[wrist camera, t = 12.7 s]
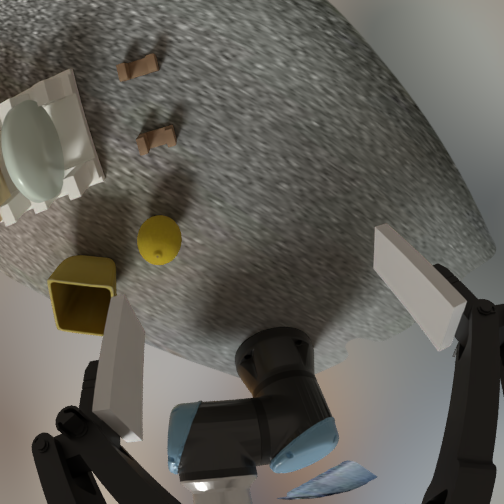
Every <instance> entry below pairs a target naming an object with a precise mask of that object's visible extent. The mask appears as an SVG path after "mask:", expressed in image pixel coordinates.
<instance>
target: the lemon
mask: <svg viewBox="0 0 504 504" xmlns="http://www.w3.org/2000/svg"><path fill="white" fill-rule="evenodd" d="M181 242H182V238H181V232H180V229H179V226H178V225H177V224H176V222H175V221H174V220H172V219H171V218H169V217H167V216H163V215H156V216H153V217H151V218H149V219H147V220H146V221H145V222H144V223H143V224H142V226H141V228H140V229H139V232H138V236H137V244H138V249H139V252H140V254H141V255H142V257H143V258H144V259H145V260H146V261H148V262H149V263H151V264H154V265H164V264H166V263H169V262H170V261H172V260H173V259H174V258H175V257H176V256H177V254H178V252H179V250H180V247H181Z"/></svg>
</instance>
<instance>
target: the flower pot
mask: <svg viewBox="0 0 504 504" xmlns="http://www.w3.org/2000/svg"><path fill="white" fill-rule="evenodd" d="M47 284H48V289H49V294H50V299H51V304H52V309H53V313H54V318H55V322H56V326H57V329H58V330H62V331H66V332H72V333H81V334H88V335H97V336H103V335H104V330H105V324H106V319H107V315H108V310H109V305H110V301H111V297H114V296H117V294H116V265H115V263H114V261H113V260H112V259H110V258H105V257H95V256H85V255H76V256H72V257H69V258H67V259H65V260H64V261H63V262H62V263H61V264H60V265H59V266H58V267H57V268H56V270H55V271H54V272H53V274H52V275H51V276H50V278H49V279H48V280H47Z"/></svg>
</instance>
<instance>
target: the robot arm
mask: <svg viewBox="0 0 504 504" xmlns="http://www.w3.org/2000/svg"><path fill="white" fill-rule="evenodd" d="M373 269H374V270H375V271H376V272H377V274H378V275H379V276H380V277H381V278H382V280H383V281H384V282H385V283H386V285H387V286H388V287H389V288H390V289H391V291H392V292H393V293H394V294H395V296H396V297H397V298H398V299H399V301H400V302H401V303H402V304H403V306H404V307H405V308H406V310H407V311H408V312H409V313H410V315H411V316H412V317H413V319H414V320H415V321H416V322H417V324H418V325H419V326H420V327H421V329H422V330H423V331H424V333H425V334H426V336H427V337H428V338H429V339H430V341H431V342H432V344H433V345H434V346H435V348H436V349H437V350H438V352H439V351H441V350H443V349H445V348H447V347H449V346H451V344H452V342H453V339H454V337H455V338H456V339H457V340H458V341H459V342H458V344H457V347H456V349H455V351H454V354H453V357H455V355H456V362H455V372H454V379H453V387H452V393H451V400H450V406H449V412H448V417H447V422H446V427H445V432H444V437H443V441H442V446H441V450H440V454H439V458H438V461H437V465H436V469H435V473H434V476H433V479H432V481H431V484H430V485H429V487H428V489H427V491H426V493H425V495H424V498H423V501H422V504H490V501H491V496H492V492H493V488H494V483H495V478H496V466H495V465H494V464H493V461H492V459H493V452H494V445H495V438H496V429H497V420H498V408H499V392H500V379H501V384H502V389H503V395H504V304H500V305H494V304H493V303H492V302H490V301H489V300H485V299H479V300H478V299H477V298H476V297H475V296H474V295H473V294H472V293H471V291H470V290H468V288H467V287H465V285H464V284H463V283H462V282H461V281H459V279H458V278H457V277H456V276H454V274H453V273H452V272H451V271H450V270H448V269H447V268H446V267H444V266H442V265H440V264H435V265H433V266H432V265H431V264H430V263H429V262H428V261H427V260H426V259H425V258H424V257H423V256H422V255H421V254H420V253H419V252H418V251H417V250H416V249H415V248H414V247H412V246H411V245H410V244H409V243H408V242H407V241H406V240H405V239H404V238H403V237H402V236H401V235H399V234H398V233H397V232H396V231H395V230H394V229H393V228H392V227H391V226H389V225H388V224H387V223H386V224H383V225H379V226H375V242H374V265H373ZM144 343H145V330H144V328H143V327H142V325H141V323H140V321H139V320H138V318H137V316H136V314H135V312H134V311H133V309H132V307H131V305H130V303H129V301H128V299H127V298H126V296H125V294H122V295H118V296H114V297H111V301H110V305H109V310H108V315H107V319H106V324H105V330H104V335H103V340H102V346H101V352H100V357H99V360H96V361H91V362H90V363H89V365H88V367H87V368H86V370H85V374H84V380H83V381H84V382H83V385H82V389H83V390H82V392H81V398H80V405H79V408H78V407H76V406H72V405H71V406H67V407H65V408H63V409H62V410H61V411H60V412H59V413H58V415H57V418H56V427H57V430H58V431H60V432H61V433H62V434H60V435H58V436H55V437H52V436H51V435H50V434H48V433H41V434H39V435H38V436H36V437H35V439H34V441H33V443H32V453H33V457H34V461H35V465H36V468H37V472H38V475H39V478H40V482H41V485H42V488H43V491H44V495H45V497H46V500H47V503H48V504H106V501H105V499H104V498H103V495H102V493H101V491H100V489H99V487H98V485H97V483H96V480H95V478H94V476H93V474H92V471H93V473H94V474H95V475H96V477H97V478H98V479H99V480H100V482H101V483H102V484H103V485H104V486H105V488H106V489H107V490H108V491H109V493H110V494H111V495H112V496H113V497H114V499H115V500H116V501H117V502H118V503H119V504H181V503H180V502H179V501H178V500H177V499H176V498H174V497H173V496H172V495H171V494H170V493H168V491H167V490H165V489H164V488H163V487H162V486H161V485H160V484H159V483H158V482H157V481H156V480H155V479H154V478H153V477H152V476H150V474H149V473H148V472H147V471H145V470H144V469H143V468H142V467H141V466H140V465H139V463H138V462H137V461H136V460H135V459H134V458H133V457H132V456H131V455H130V454H129V453H128V452H127V451H126V450H125V449H124V448H123V447H122V446H121V445H120V437H121V438H122V439H124V440H125V441H126V442H135V441H143V434H142V433H143V432H142V430H143V429H142V400H143V398H142V397H143V363H144ZM235 365H236V370H237V373H238V375H239V377H240V378H241V380H242V381H243V383H244V384H245V385H246V387H247V388H248V390H249V391H250V392H251V393H252V396H253V398H246V399H236V400H224V401H210V402H202V401H198V402H194V403H183V404H178V405H177V406H175V407H174V408H173V409H172V412H171V415H170V420H169V429H168V467H169V470H170V472H172V473H174V474H178V473H179V476H180V483H181V484H182V485H183V486H184V487H185V488H187V489H188V490H189V491H190V492H191V493H192V496H193V502H194V504H252V499H251V494H250V486H251V485H252V483H253V482H254V481H255V479H256V478H257V477H258V476H257V470H256V466H260V465H267V464H270V468H271V469H272V470H273V472H275V473H287V472H292V471H296V470H298V469H301V468H304V467H307V466H309V465H311V464H313V463H315V462H317V461H319V460H320V459H322V458H323V457H325V456H326V455H328V454H329V453H330V452H331V451H332V450H333V449H334V448H335V447H336V445H337V443H338V440H339V435H338V432H337V428H336V425H335V420H334V418H333V417H332V415H331V412H330V410H329V408H328V406H327V403H326V401H325V398H324V396H323V394H322V391H321V389H320V387H319V384H318V383H317V380H316V377H315V374H314V349H313V346H312V344H311V342H310V339H309V337H308V336H307V335H306V334H305V333H304V332H302V331H300V330H298V329H294V328H288V327H281V328H273V329H269V330H265V331H263V332H260V333H258V334H256V335H254V336H252V337H251V338H249V339H248V340H246V341H245V342H244V343H243V344H242V345H241V346H240V348H239V349H238V351H237V353H236V355H235Z"/></svg>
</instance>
